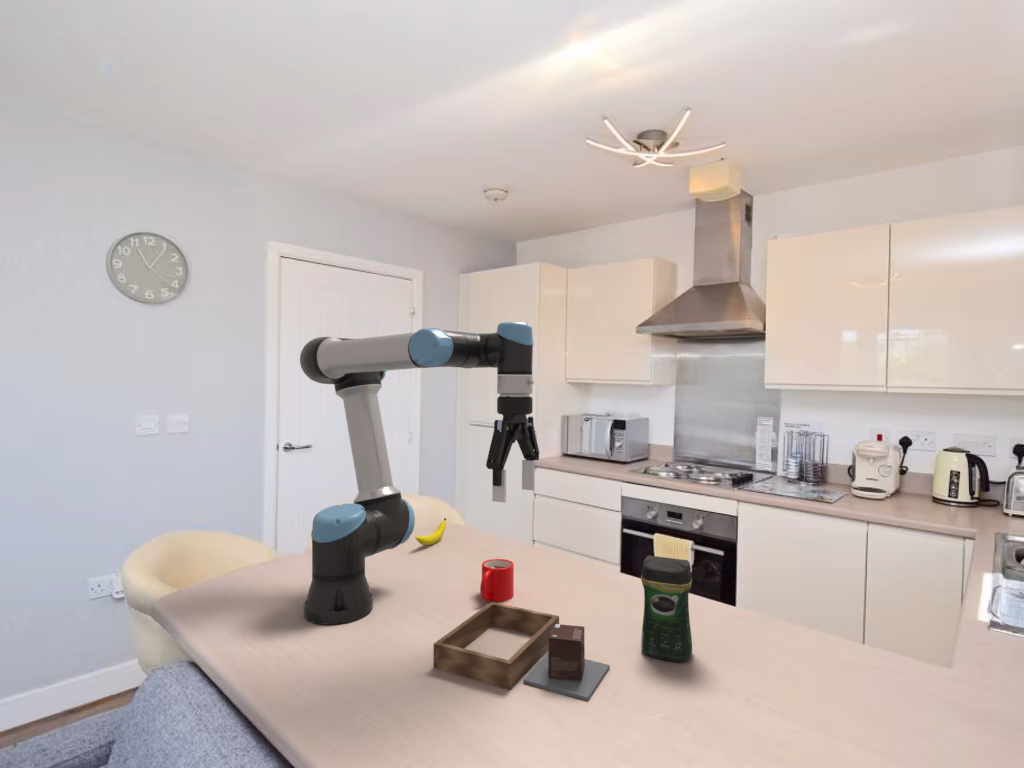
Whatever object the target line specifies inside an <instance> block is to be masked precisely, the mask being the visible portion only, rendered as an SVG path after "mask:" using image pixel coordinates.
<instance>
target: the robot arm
mask: <svg viewBox="0 0 1024 768" xmlns="http://www.w3.org/2000/svg"><path fill="white" fill-rule="evenodd" d="M496 329H497V330H496V332H493V333H492V332H491V333H487V332H486V333H474V332H473V333H472V332H466V331H464V332H463V331H453V330H447V329H440V328H436V327H434V328H433V327H432V328H431V327H430V328H421V329H418V330H417V331H415V332H406V333H405V332H404V333H397V334H389V335H381V336H370V337H361V338H345V337H344V338H343V337H335V336H334V337H333V336H320V337H316V338H313V339H311V340H309V341H308V342H306V343H305V345H304V346H303V347H302V349H301V351H300V356H299V363H300V367H301V370H302V372H303V373H304V374H305V375H306V377H307V378H308V379H310V380H311V381H313V382H315V383H318V384H325V385H334V390H335V391H334V392H335V395H336V396H338V397H339V398H340V399H342V401H343V408H344V411H345V412H344V413H345V419H346V425H347V430H348V432H347V433H348V437H349V442H350V447H351V454H352V460H353V467H354V472H355V478H356V484H357V490H358V494H357V495H356V497H355V498H354V499H353V503H343V504H336V505H331V506H329V507H326V508H324V509H321V510H320V511H319V512H317V513H316V514H315V515H314V517H313V519H312V526H311V527H312V530H311V533H310V534H311V536H310V537H311V546H312V547H311V554H312V555H311V558H312V561H311V562H312V563H311V577H312V578H311V582H310V585H309V588H308V591H307V596H306V599H305V601H304V604H303V616H304V618H305V619H306V620H307V621H309V622H311V623H315V624H320V625H337V624H340V625H341V624H344V623H349V622H354V621H356V620H360V619H362V618H363V617H366V616H367V615H369V614H370V613H371V612H372V611H373V608H374V607H373V606H374V603H373V602H374V600H373V599H374V598H373V594H372V592H371V591H370V587H369V582H368V579H367V577H366V558H367V557H370V556H373V555H376V554H379V553H382V552H384V551H386V550H392V549H395V548H397V547H398V546H400V545H402V544H404V543H405V542H407V541H408V540H409V538H410V537H411V535H412V533H413V531H414V528H415V523H416V521H415V520H416V517H415V513H414V512H415V511H414V509H413V507H412V505H411V504H409V501H408V500H406V499H404V498H402V493H401V490H399V489H398V488H397V487H395V486H394V484H393V483H394V482H393V477H392V472H391V467H390V461H389V454H388V449H387V443H386V436H385V431H384V426H383V419H382V414H381V410H380V409H381V408H380V403H379V397H378V395H379V392H380V390H381V389H382V388H383V385H382V381H383V380H384V379H385V377H386V372H388V371H396V370H397V371H398V370H399V371H400V370H411V369H429V368H461V369H477V368H480V369H483V368H496V370H497V371H496V373H497V377H496V378H497V379H496V381H497V383H496V393H497V394H498V395H499V396H497V398H496V401H497V402H496V412H497V414H499V415H502V419H495V420H494V422H493V423H494V424H493V425H494V426H493V433H492V436H491V437H492V438H491V442H490V446H489V450H488V455H487V459H486V463H485V467H486V468H487V470H492V485H491V487H492V490H491V491H492V492H491V493H492V496H491V497H492V500H491V501H492V502H494V503H506V502H507V469H504V468H505V466H506V463H507V460H508V458H509V454H510V451H511V449H512V447H513V444H515V443H516V441H517V444H518V447H519V449H520V451H521V454H522V456H523V460H521V489H522V490H525V491H535V461H539V460H540V449H539V445H538V441H537V436H536V431H535V425H534V424H535V423H534V422H535V421H534V417H533V416H528V415H531V414H532V413H533V405H534V403H533V397H532V396H530V395H532V394H533V385H534V383H535V380H533V358H534V357H533V354H534V352H533V348H534V340H533V339H534V338H533V328H532V325H531V324H529V322H528V323H527V322H523V321H504V322H499V324H498V325H497V328H496Z"/></svg>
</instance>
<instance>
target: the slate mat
mask: <svg viewBox="0 0 1024 768" xmlns="http://www.w3.org/2000/svg"><path fill="white" fill-rule="evenodd" d="M584 659H585V666H584V672H583V677H582V681H574V680H565V679H556V678H549V677H548V652H546V654H545V655H544V657H543V658H542V659H541V660H540V661H539V662H538V663H537V664H536V665H535V666H534V667H533V668H532V670H531V671H529V673H528V674H527V675H526V676H525V677H523V680H522V683H523V684H525V685H528V686H532V687H536V688H538V689H543V690H547V691H549V692H550V691H551V692H555V693H558V694H561V695H563V696H569V697H571V698H575V699H579V700H583V701H586V702H589V700H590V699H591V698H592V696H593V694H594V692H595V691H596V689H597V688H598V687H599V685H600V684H601V682H602V680H603V679H604V677H605V676H606V675H607V673H608V671H609V670H610V667H611V666H610V664H608V663H603V662H599V661H596V660H590V659H586V658H584Z"/></svg>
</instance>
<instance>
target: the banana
mask: <svg viewBox="0 0 1024 768" xmlns="http://www.w3.org/2000/svg"><path fill="white" fill-rule="evenodd" d="M446 521H447V518H443V520H442V521H441V522H440V523H439V525H438V527H437V528H436V530H435V531H434V532H433V533H431V534H428V535H424V536H423V535H418V536H415V539H416V541H417V542H418V543H419V544H420V545H422V546H431V545H434V544H436V543H438V542H439V541H441V539H442V538H443V537H444V533H445V530H446V524H447V522H446Z"/></svg>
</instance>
